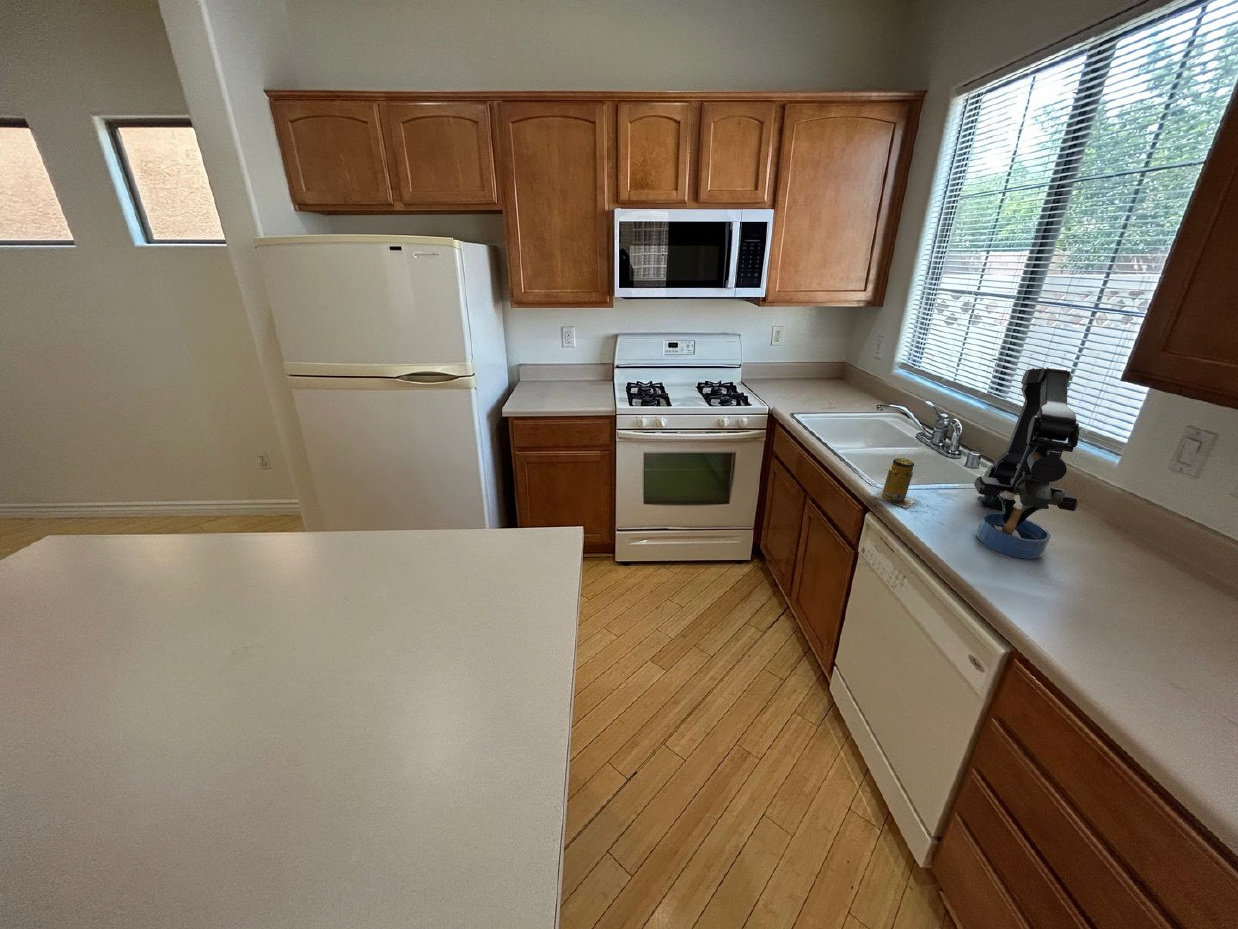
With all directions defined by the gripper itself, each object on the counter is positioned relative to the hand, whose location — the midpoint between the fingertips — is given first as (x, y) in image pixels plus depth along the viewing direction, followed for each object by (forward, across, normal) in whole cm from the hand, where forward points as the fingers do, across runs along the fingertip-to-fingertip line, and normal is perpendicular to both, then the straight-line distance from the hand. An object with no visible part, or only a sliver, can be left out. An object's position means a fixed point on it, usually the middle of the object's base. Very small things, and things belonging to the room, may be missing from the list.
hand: (1010, 523), depth 116 cm
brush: (+5, 0, 0) cm, 5 cm away
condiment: (+6, -23, +14) cm, 28 cm away
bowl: (+6, +1, 0) cm, 6 cm away
